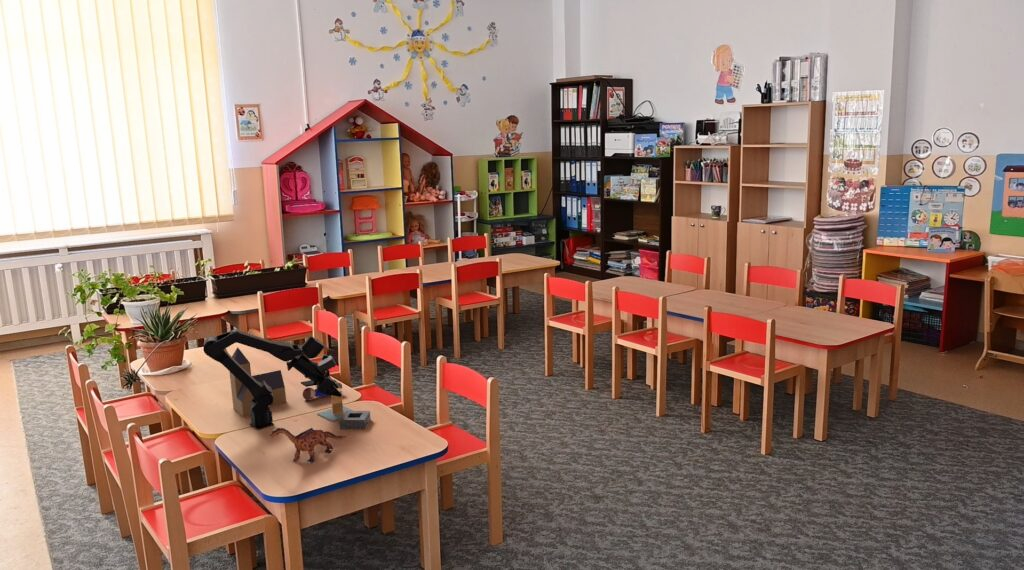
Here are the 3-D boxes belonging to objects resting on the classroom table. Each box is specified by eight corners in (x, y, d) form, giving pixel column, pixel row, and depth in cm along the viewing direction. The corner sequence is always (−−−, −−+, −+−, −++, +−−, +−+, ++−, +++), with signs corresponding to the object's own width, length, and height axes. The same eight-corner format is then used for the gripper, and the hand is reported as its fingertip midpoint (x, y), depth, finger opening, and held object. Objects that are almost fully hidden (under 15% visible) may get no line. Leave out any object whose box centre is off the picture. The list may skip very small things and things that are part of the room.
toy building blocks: (233, 408, 307) (226, 346, 302) (280, 397, 318) (275, 337, 313) (243, 417, 297) (236, 353, 292) (291, 406, 308) (286, 344, 303)
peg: (343, 413, 297) (341, 390, 295) (333, 415, 296) (331, 392, 294) (342, 410, 300) (340, 387, 298) (332, 411, 299) (330, 389, 297)
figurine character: (335, 394, 325) (299, 398, 316) (336, 375, 324) (300, 379, 315) (342, 398, 319) (306, 402, 310) (342, 380, 318) (306, 383, 309)
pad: (332, 421, 290) (332, 420, 290) (317, 414, 298) (317, 413, 298) (358, 413, 297) (358, 412, 297) (342, 406, 305) (342, 405, 305)
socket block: (364, 429, 282) (364, 419, 282) (340, 429, 283) (339, 420, 282) (370, 419, 291) (369, 410, 290) (346, 419, 292) (345, 410, 291)
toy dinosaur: (265, 473, 249) (260, 428, 246) (334, 440, 274) (330, 399, 270) (284, 479, 244) (279, 433, 241) (352, 444, 269) (348, 403, 266)
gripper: (324, 357, 283) (357, 382, 288) (319, 344, 300) (350, 368, 306) (303, 381, 282) (337, 406, 288) (299, 366, 299) (331, 390, 305)
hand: (339, 392), depth 296 cm, fingers open, 9 cm apart
